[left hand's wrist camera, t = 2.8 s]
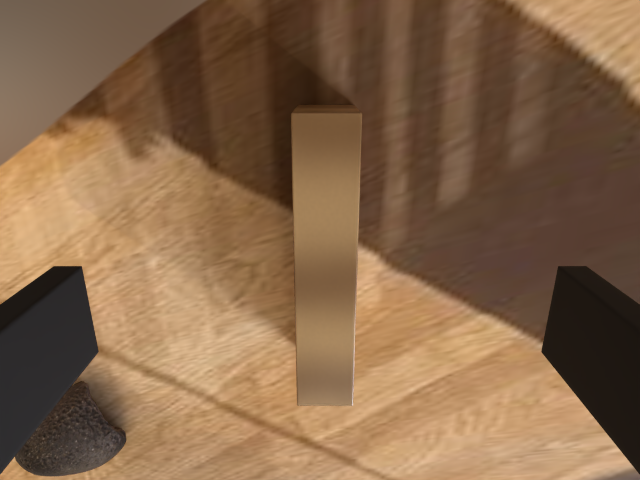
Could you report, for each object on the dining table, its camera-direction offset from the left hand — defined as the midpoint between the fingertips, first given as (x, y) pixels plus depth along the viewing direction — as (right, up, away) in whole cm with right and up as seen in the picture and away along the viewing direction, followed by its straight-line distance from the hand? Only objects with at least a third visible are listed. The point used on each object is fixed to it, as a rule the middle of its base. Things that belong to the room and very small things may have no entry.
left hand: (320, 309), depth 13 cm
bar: (0, +2, +29) cm, 29 cm away
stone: (-25, -17, +36) cm, 47 cm away
